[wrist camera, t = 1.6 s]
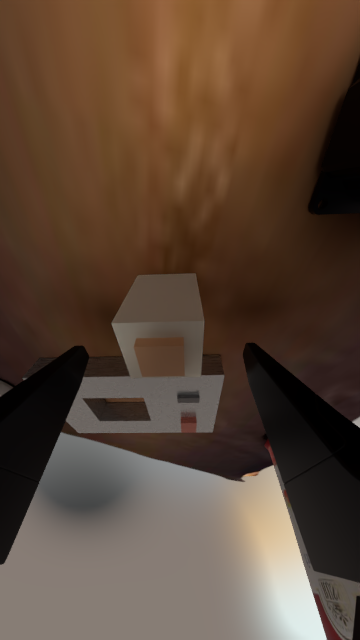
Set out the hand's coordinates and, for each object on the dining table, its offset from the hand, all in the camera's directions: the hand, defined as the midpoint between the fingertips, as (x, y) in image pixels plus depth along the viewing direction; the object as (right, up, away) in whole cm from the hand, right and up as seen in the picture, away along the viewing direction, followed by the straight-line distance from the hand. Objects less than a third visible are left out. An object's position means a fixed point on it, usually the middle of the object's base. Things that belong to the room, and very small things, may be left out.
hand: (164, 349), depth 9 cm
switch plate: (-5, -8, +13) cm, 16 cm away
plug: (0, +3, +5) cm, 6 cm away
